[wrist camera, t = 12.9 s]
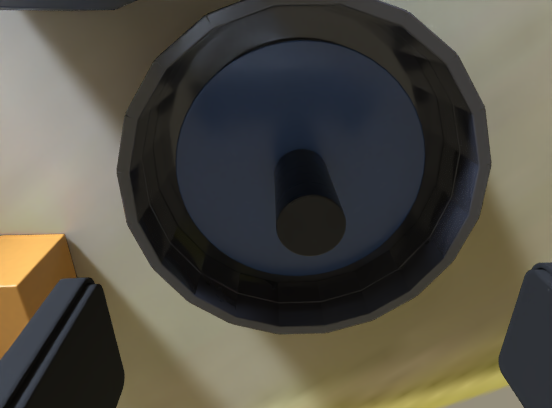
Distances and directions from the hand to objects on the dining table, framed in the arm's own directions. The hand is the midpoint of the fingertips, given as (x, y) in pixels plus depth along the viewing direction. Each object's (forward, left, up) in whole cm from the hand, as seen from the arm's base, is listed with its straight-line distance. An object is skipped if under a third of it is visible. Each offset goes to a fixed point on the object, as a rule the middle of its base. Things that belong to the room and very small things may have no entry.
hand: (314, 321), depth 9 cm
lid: (0, 0, -11) cm, 11 cm away
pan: (0, 0, -12) cm, 12 cm away
